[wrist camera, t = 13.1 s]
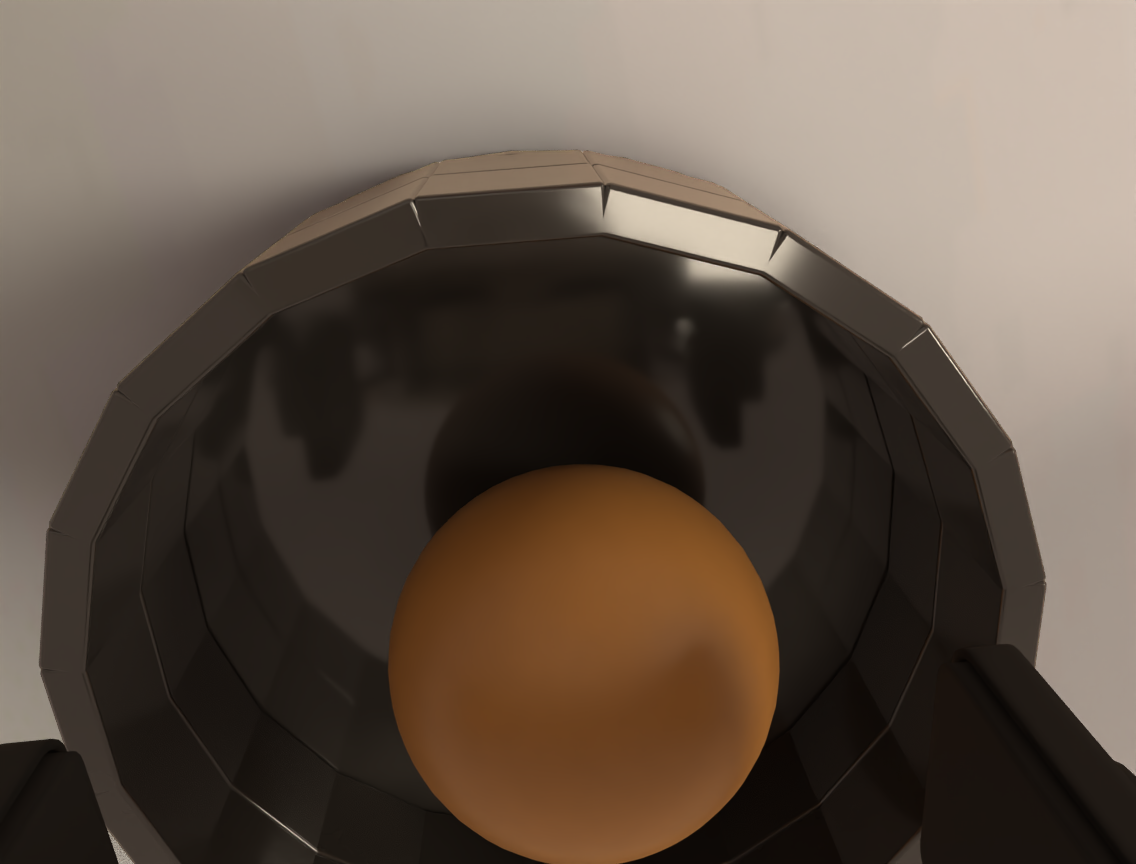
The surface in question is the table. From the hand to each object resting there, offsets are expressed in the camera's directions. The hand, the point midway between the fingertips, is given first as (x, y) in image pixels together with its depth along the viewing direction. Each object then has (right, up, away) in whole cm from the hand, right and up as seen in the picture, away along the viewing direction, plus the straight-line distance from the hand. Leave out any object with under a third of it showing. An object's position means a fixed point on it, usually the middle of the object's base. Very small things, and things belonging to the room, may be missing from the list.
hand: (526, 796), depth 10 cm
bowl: (0, +2, +6) cm, 7 cm away
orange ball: (0, +2, +6) cm, 6 cm away
